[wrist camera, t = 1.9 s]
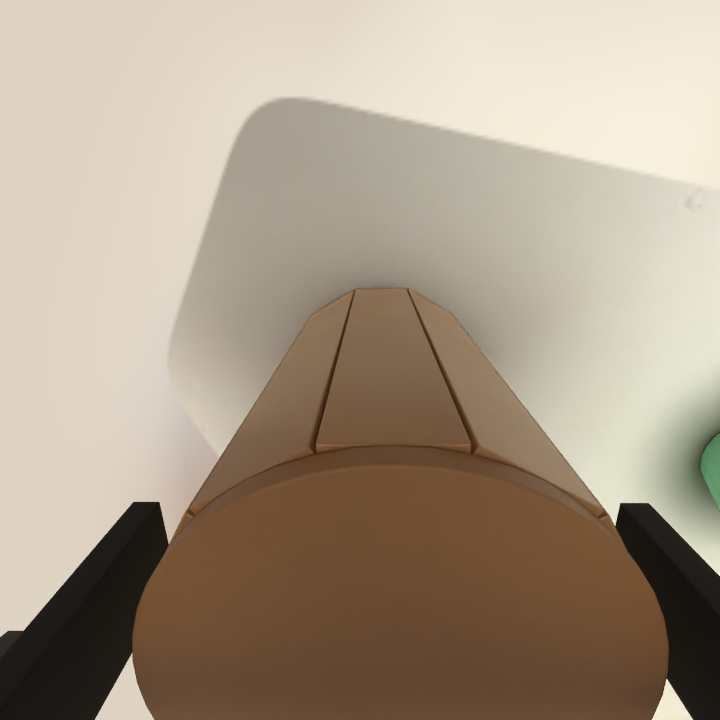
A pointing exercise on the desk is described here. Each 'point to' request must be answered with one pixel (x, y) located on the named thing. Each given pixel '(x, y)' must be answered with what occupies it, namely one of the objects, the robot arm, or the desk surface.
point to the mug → (712, 468)
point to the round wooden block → (396, 549)
